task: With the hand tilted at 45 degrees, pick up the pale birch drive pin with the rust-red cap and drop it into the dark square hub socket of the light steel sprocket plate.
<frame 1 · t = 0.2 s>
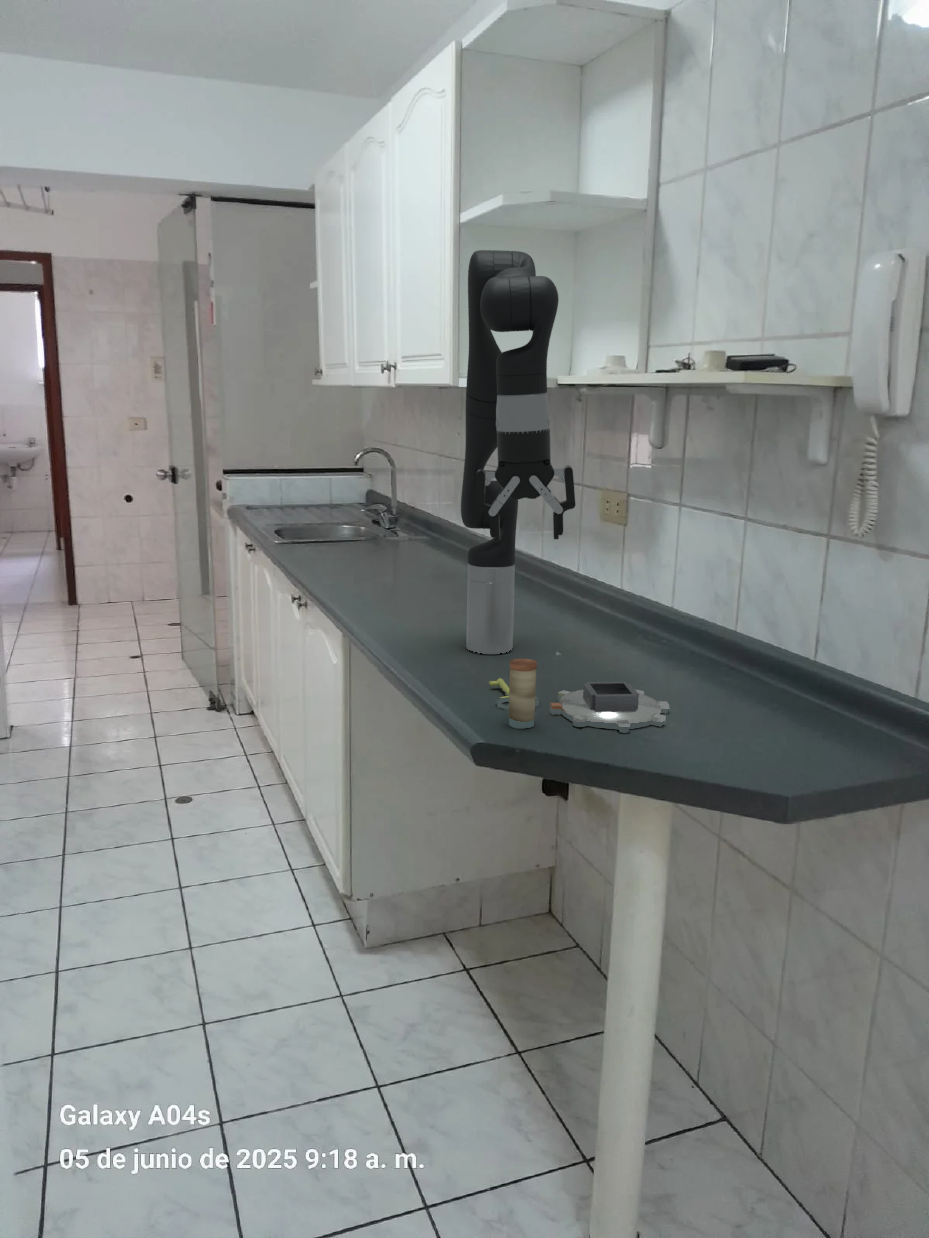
hand: (526, 539, 138), 29 cm above the countertop, tool pointing down, fingers open, 8 cm apart
sprocket plate: (609, 712, 152), on the countertop
drive pin: (521, 724, 146), on the countertop
key: (510, 702, 158), on the countertop
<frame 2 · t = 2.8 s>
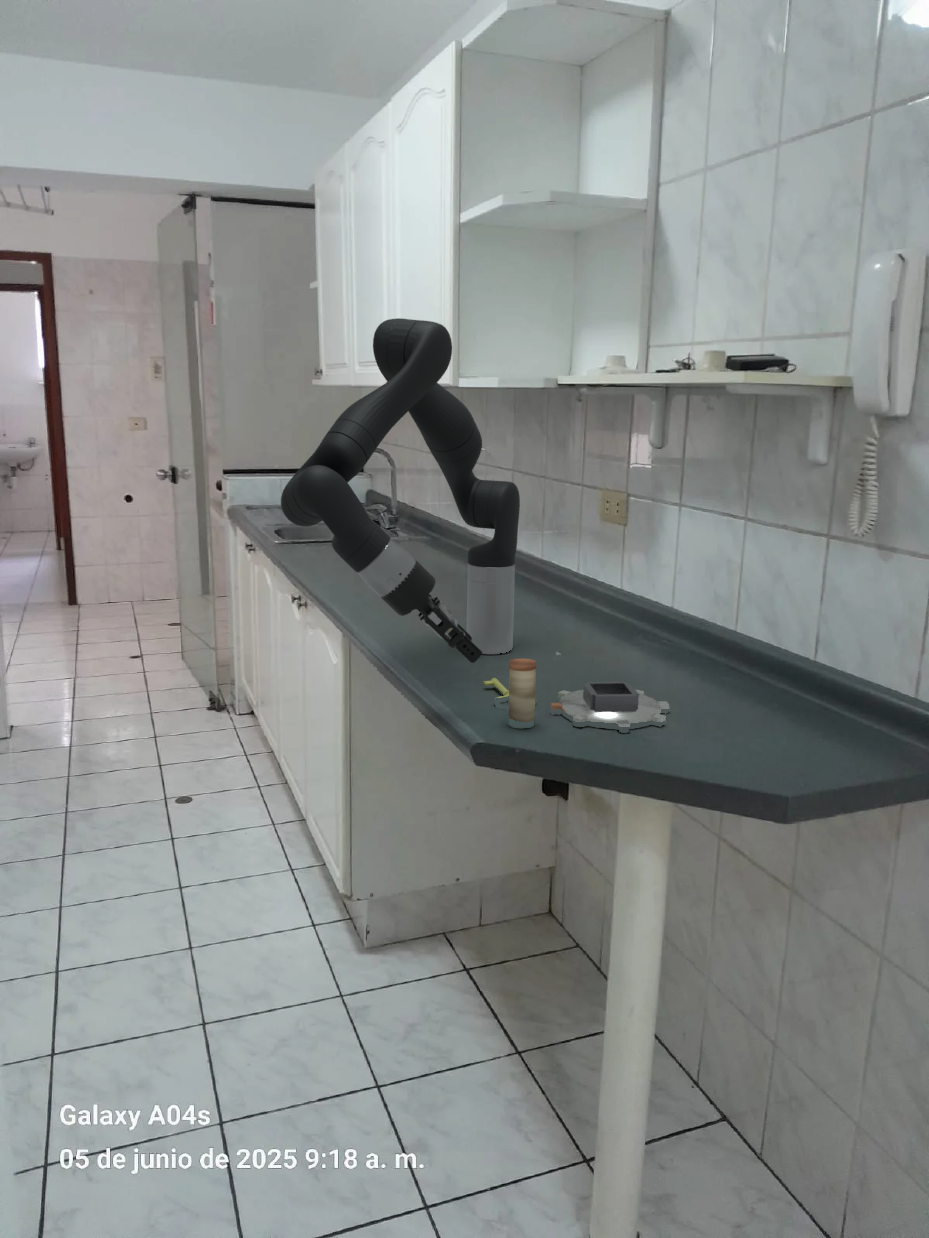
hand: (472, 650, 142), 12 cm above the countertop, tool tilted 45°, fingers open, 8 cm apart
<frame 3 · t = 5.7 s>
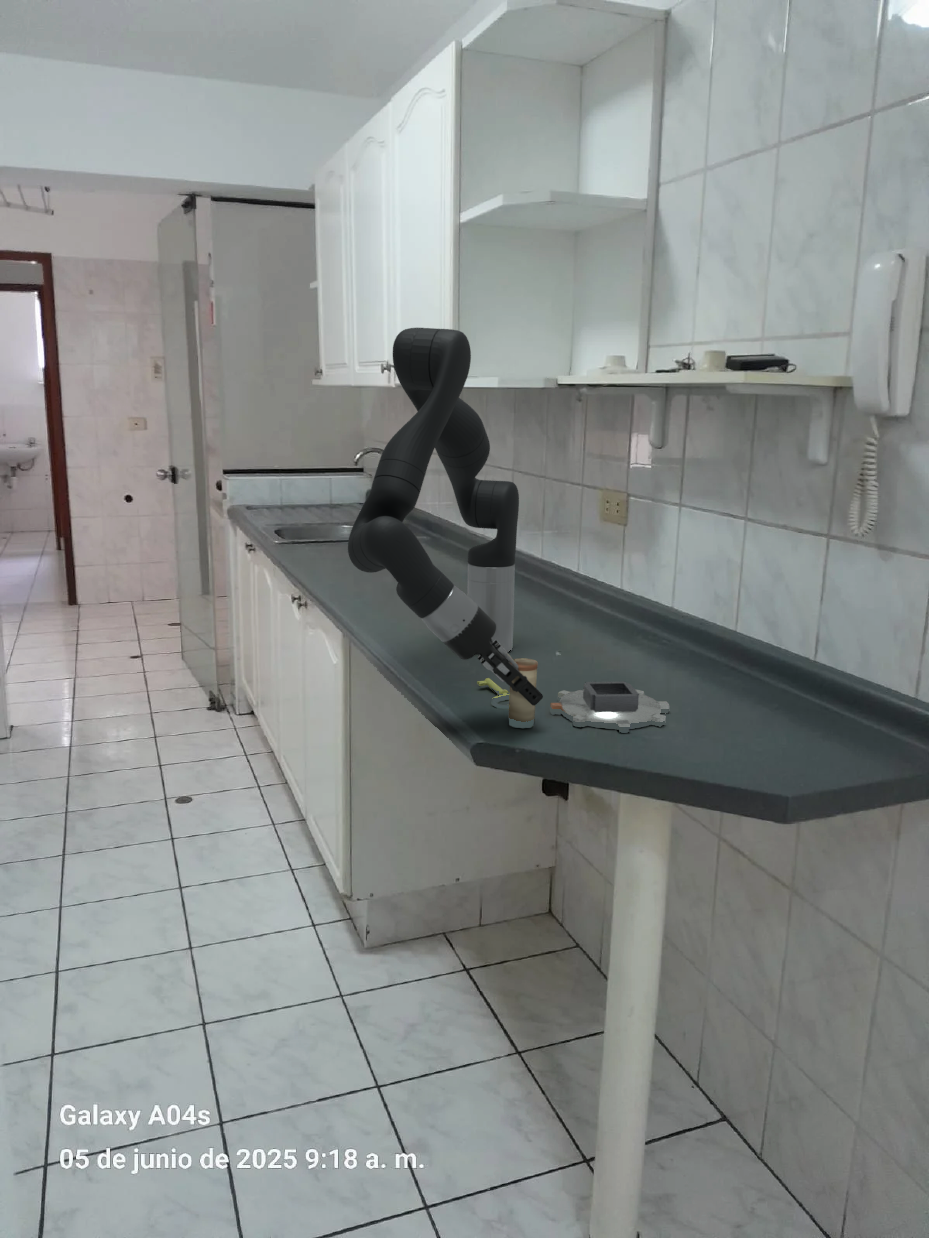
hand: (534, 695, 145), 5 cm above the countertop, tool tilted 45°, fingers closed on drive pin, 4 cm apart
drive pin: (521, 724, 146), on the countertop, touching gripper
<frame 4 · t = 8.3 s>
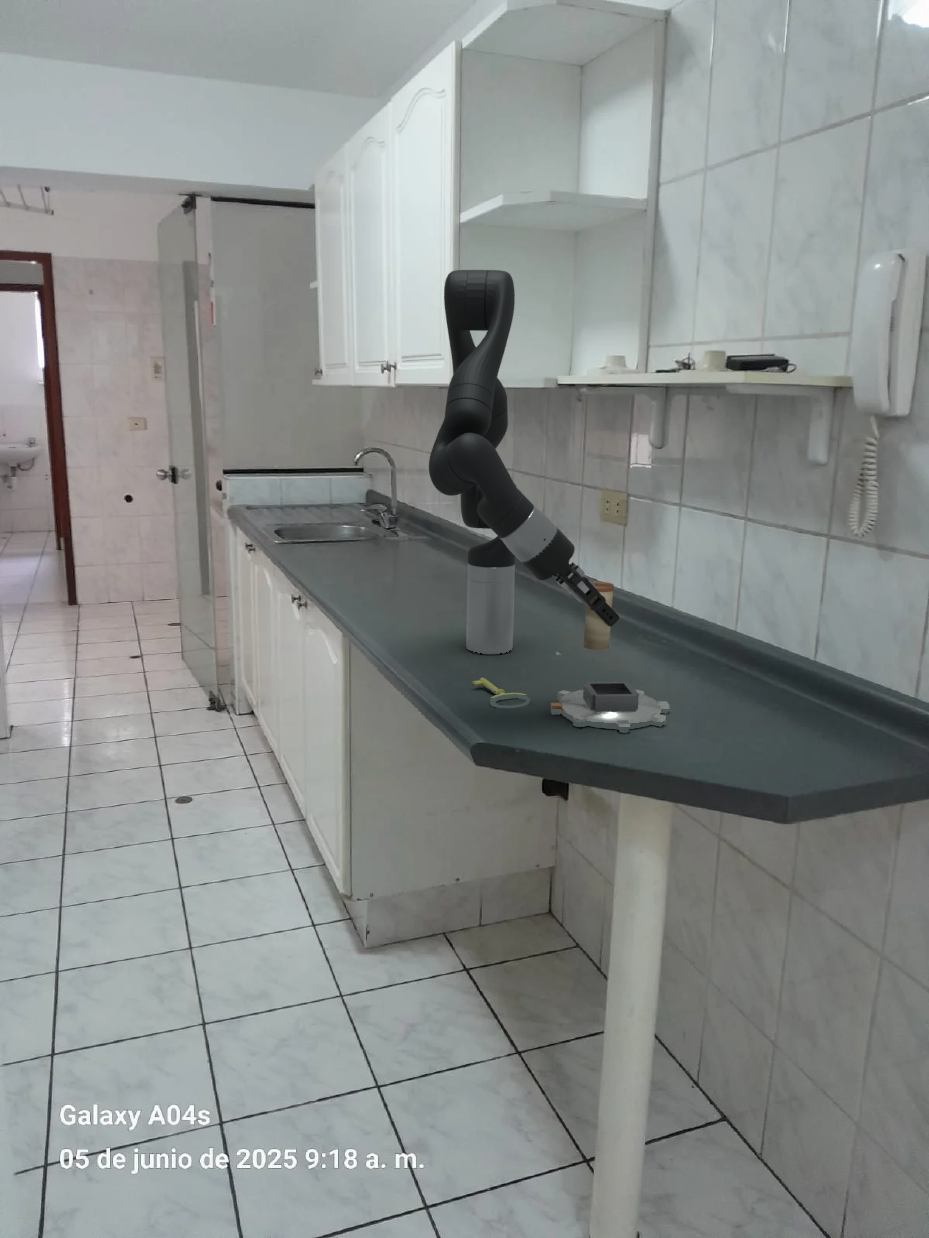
hand: (609, 618, 147), 16 cm above the countertop, tool tilted 45°, fingers closed on drive pin, 4 cm apart
drive pin: (596, 646, 148), point 11 cm above the countertop, touching gripper
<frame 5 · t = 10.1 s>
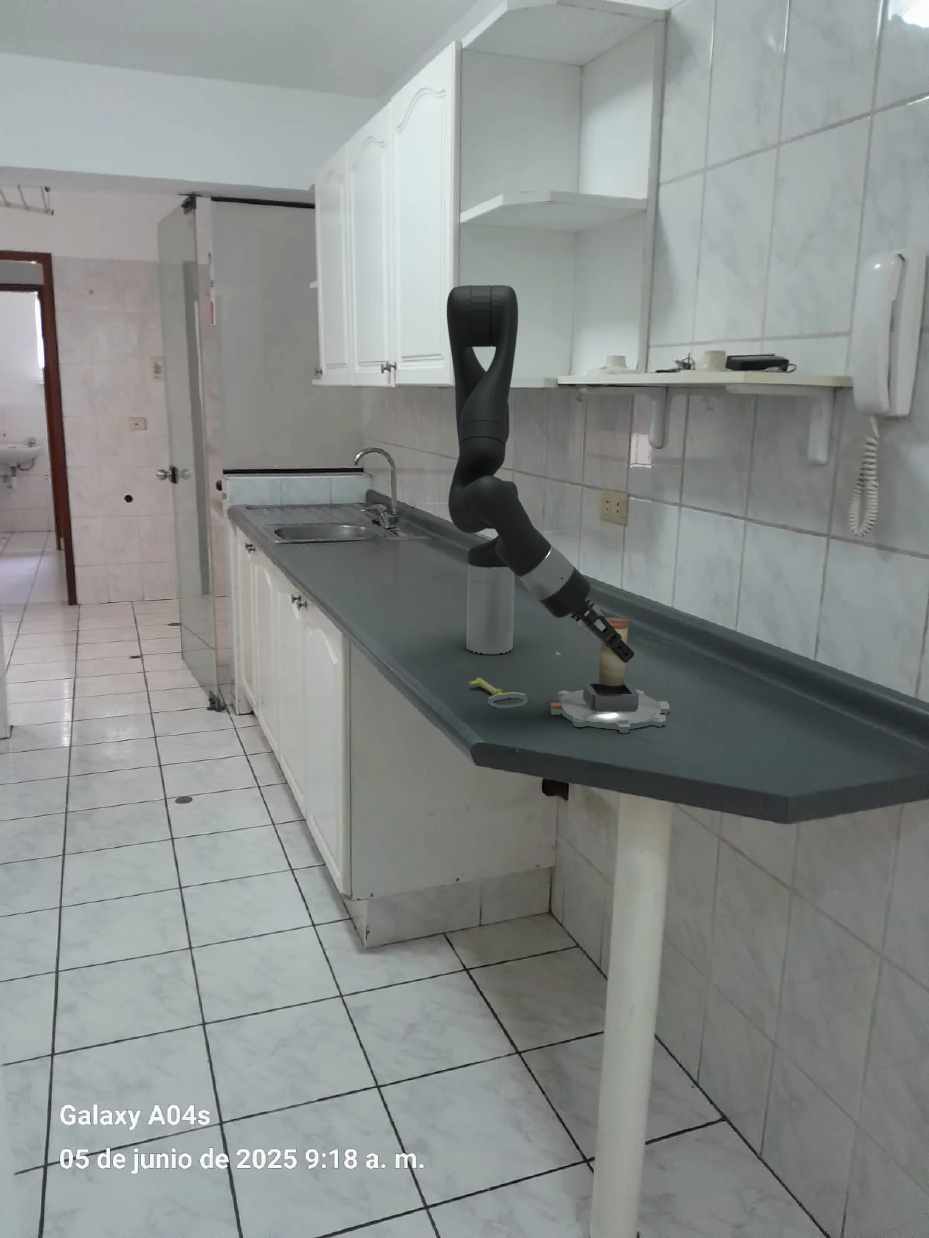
hand: (624, 654, 150), 10 cm above the countertop, tool tilted 45°, fingers closed on drive pin, 4 cm apart
drive pin: (611, 682, 151), point 5 cm above the countertop, touching gripper
when the fingers open (7 cm above the countertop, at t = 11.4 s): drive pin drops 1 cm, resting on sprocket plate.
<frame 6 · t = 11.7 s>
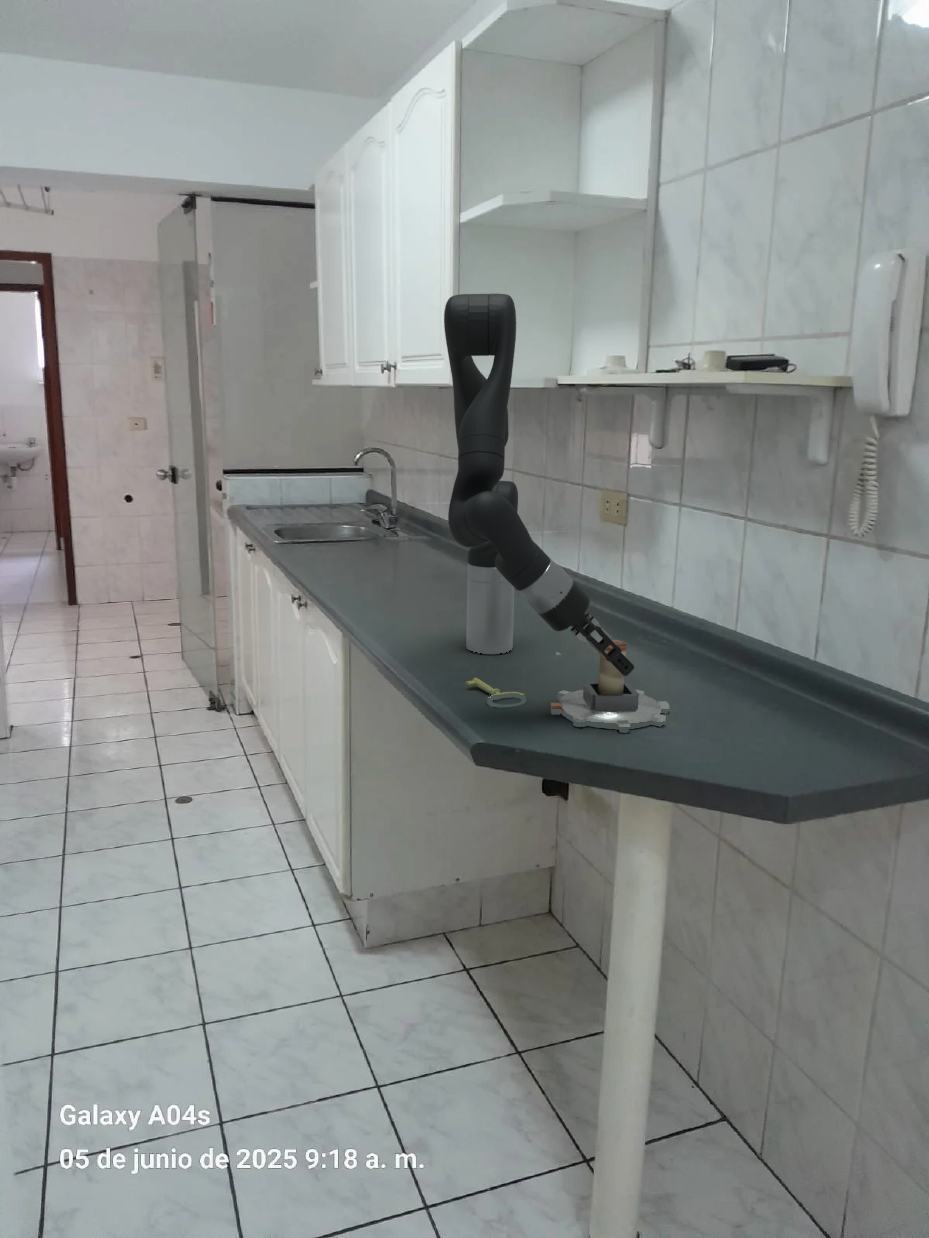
hand: (621, 665, 150), 8 cm above the countertop, tool tilted 45°, fingers open, 6 cm apart
drive pin: (609, 703, 152), point 2 cm above the countertop, touching sprocket plate
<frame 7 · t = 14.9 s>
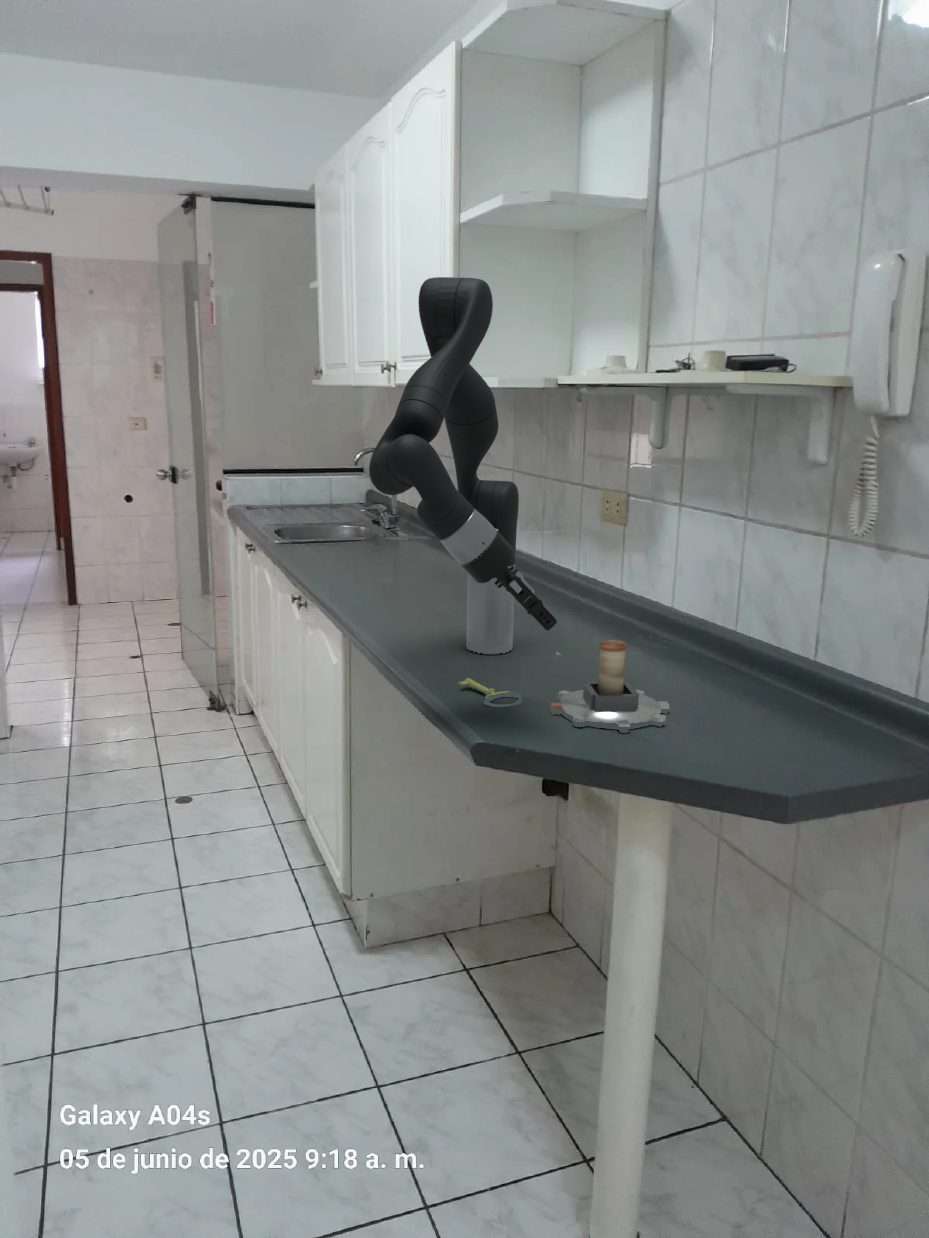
hand: (544, 618, 147), 16 cm above the countertop, tool tilted 45°, fingers open, 8 cm apart
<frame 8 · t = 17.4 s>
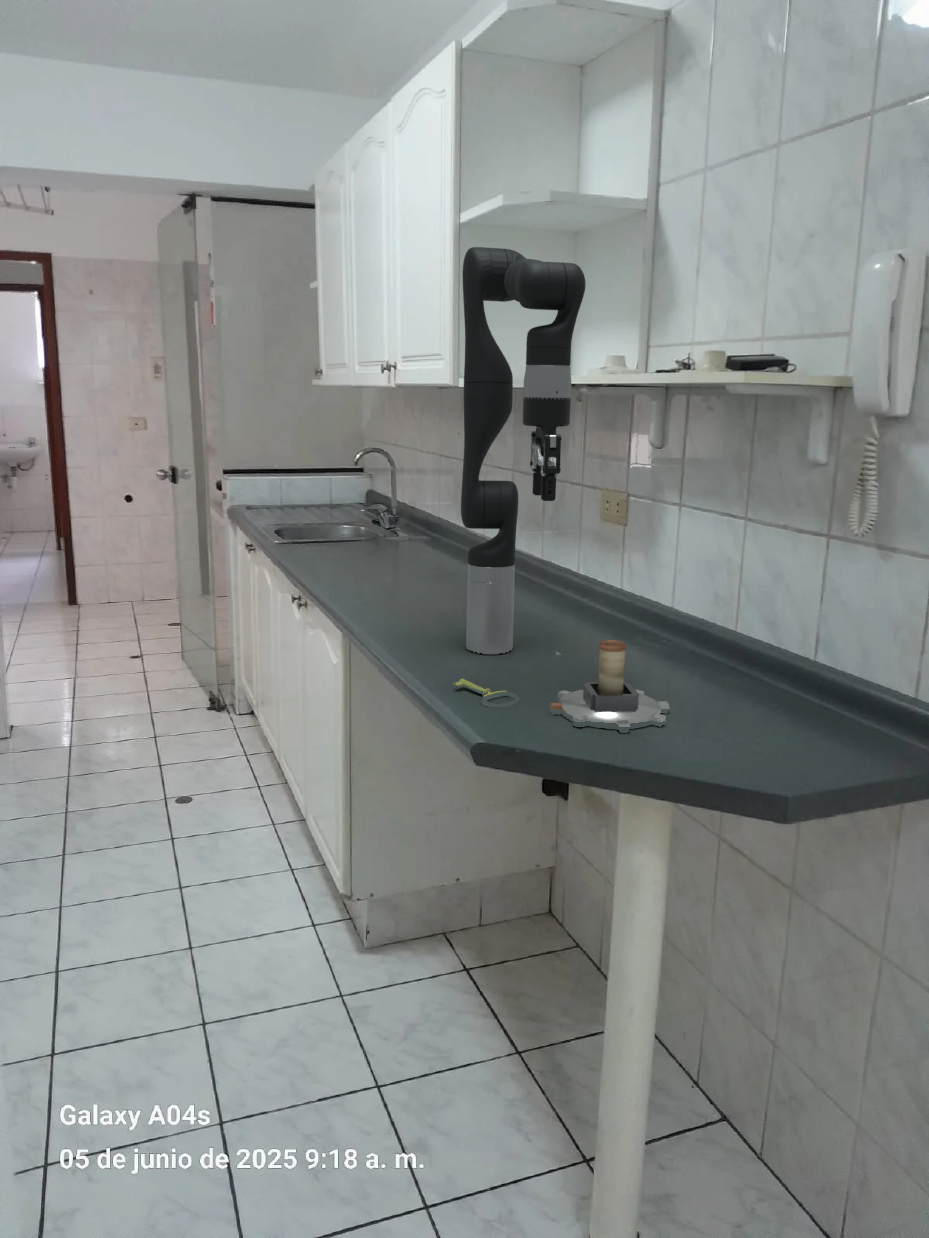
hand: (543, 497, 154), 33 cm above the countertop, tool pointing down, fingers open, 8 cm apart
at the end: drive pin 0.1 cm off-centre on the sprocket plate, point 1.5 cm above the sprocket plate's base; drive pin tilted 0°; the gripper is holding nothing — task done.
